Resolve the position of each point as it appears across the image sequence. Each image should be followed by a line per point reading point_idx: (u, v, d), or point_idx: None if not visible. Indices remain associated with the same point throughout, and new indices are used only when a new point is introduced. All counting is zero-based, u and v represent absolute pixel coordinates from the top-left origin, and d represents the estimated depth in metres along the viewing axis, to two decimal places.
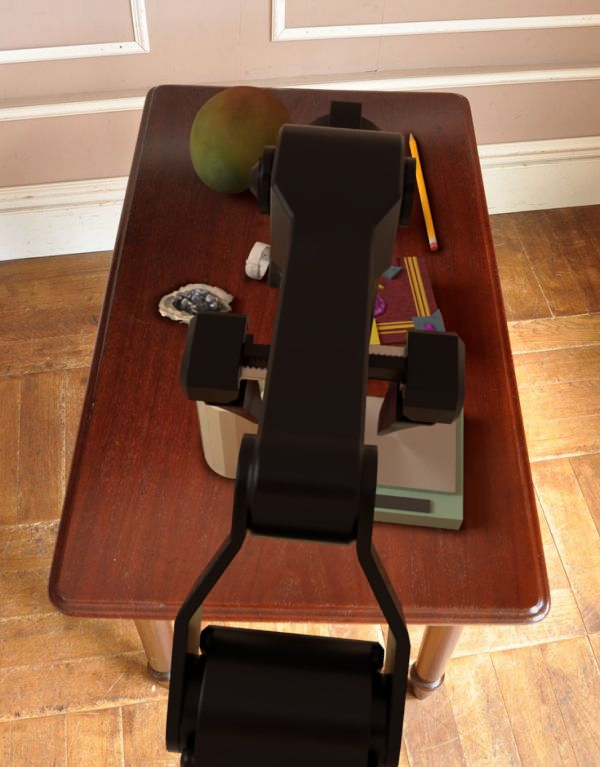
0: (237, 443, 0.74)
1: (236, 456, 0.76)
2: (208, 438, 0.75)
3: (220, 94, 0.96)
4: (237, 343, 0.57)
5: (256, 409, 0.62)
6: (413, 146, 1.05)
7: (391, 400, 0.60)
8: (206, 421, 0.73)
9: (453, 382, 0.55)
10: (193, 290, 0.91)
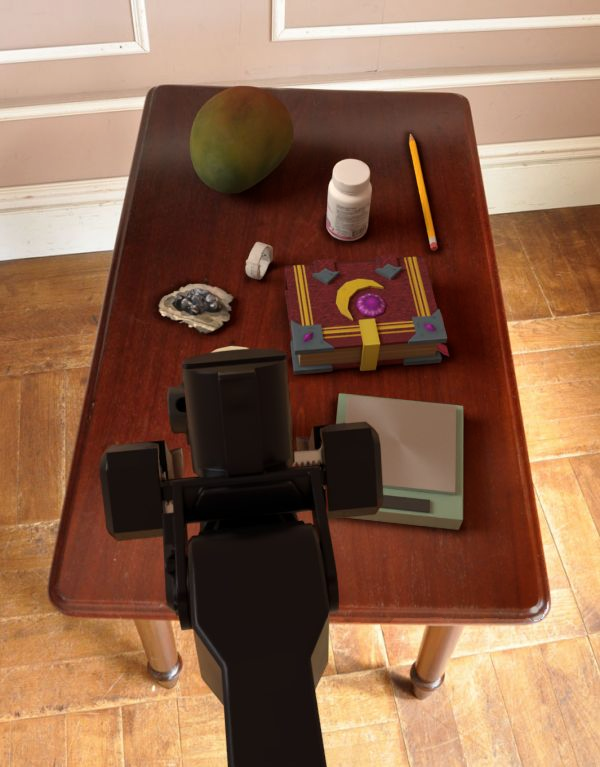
0: None
1: None
2: None
3: (220, 94, 0.96)
4: (156, 497, 0.56)
5: (180, 475, 0.63)
6: (413, 146, 1.05)
7: None
8: None
9: (372, 496, 0.58)
10: (193, 290, 0.91)
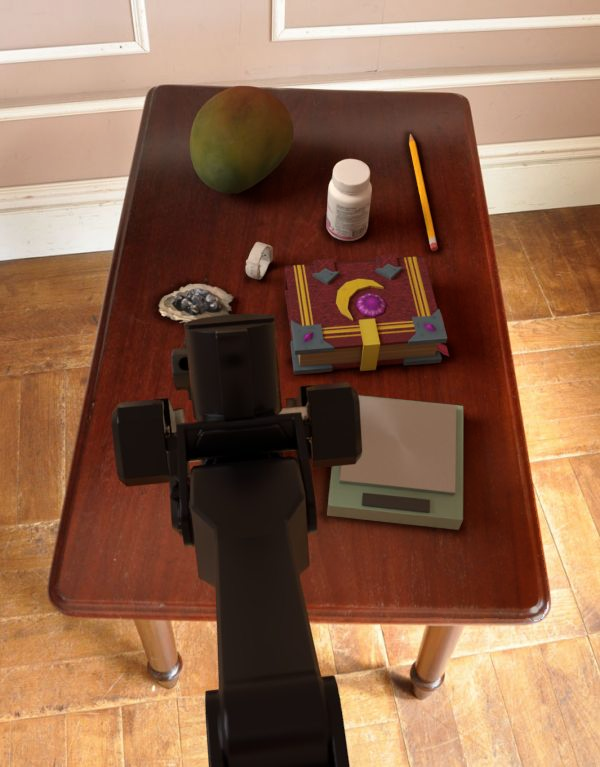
0: None
1: None
2: None
3: (220, 94, 0.96)
4: (161, 447, 0.64)
5: None
6: (413, 146, 1.05)
7: None
8: None
9: (352, 448, 0.65)
10: (193, 290, 0.91)
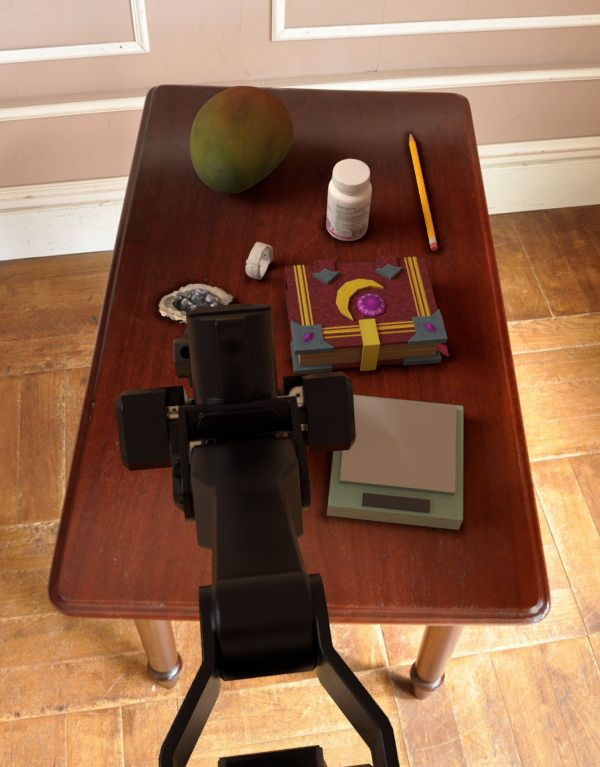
0: None
1: None
2: None
3: (220, 94, 0.96)
4: (163, 432, 0.67)
5: None
6: (413, 146, 1.05)
7: None
8: None
9: (346, 434, 0.68)
10: (193, 290, 0.91)
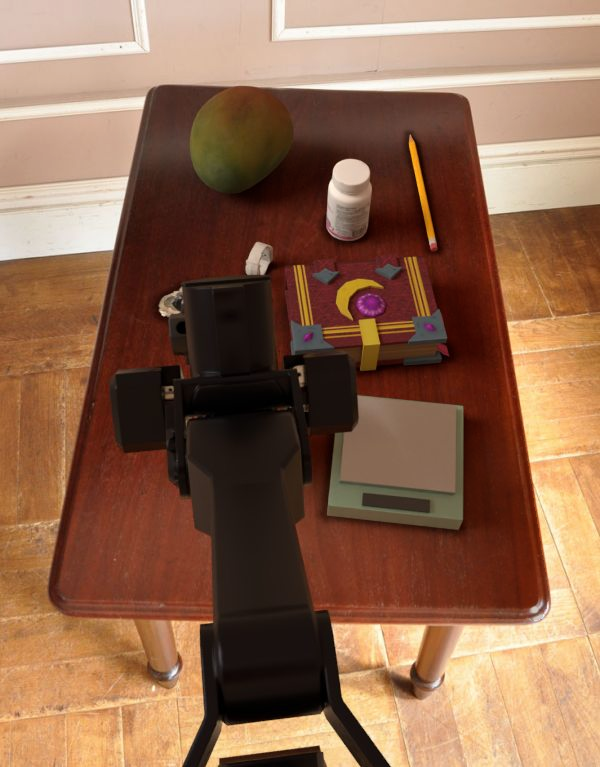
0: None
1: None
2: None
3: (220, 94, 0.96)
4: (159, 413, 0.64)
5: None
6: (412, 147, 1.05)
7: None
8: None
9: (348, 414, 0.66)
10: None
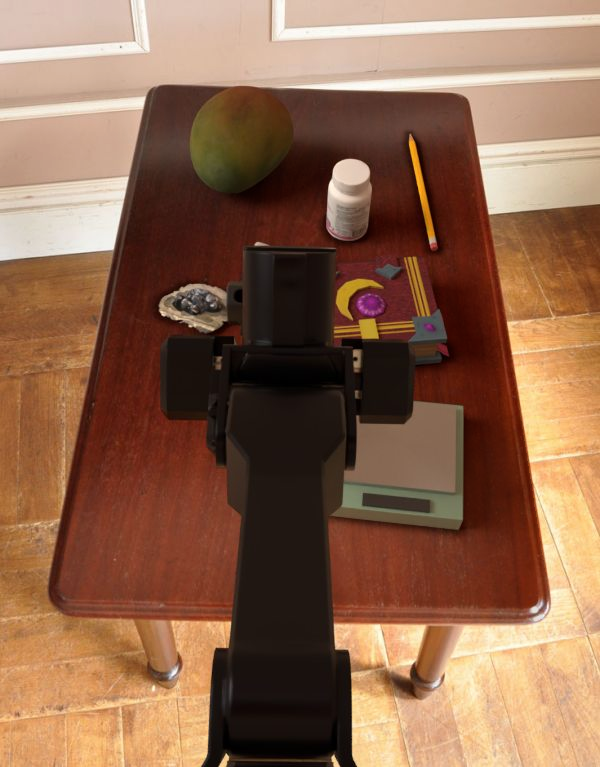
0: None
1: None
2: None
3: (220, 94, 0.96)
4: (207, 382, 0.62)
5: None
6: (413, 146, 1.05)
7: None
8: None
9: (403, 406, 0.63)
10: (193, 290, 0.91)
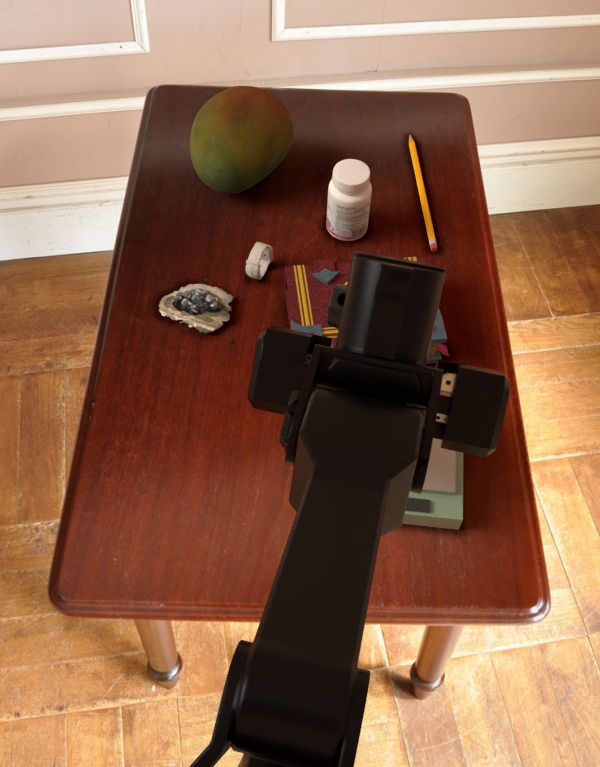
0: None
1: None
2: None
3: (220, 94, 0.96)
4: None
5: None
6: (412, 147, 1.05)
7: None
8: None
9: (487, 438, 0.61)
10: (193, 290, 0.91)
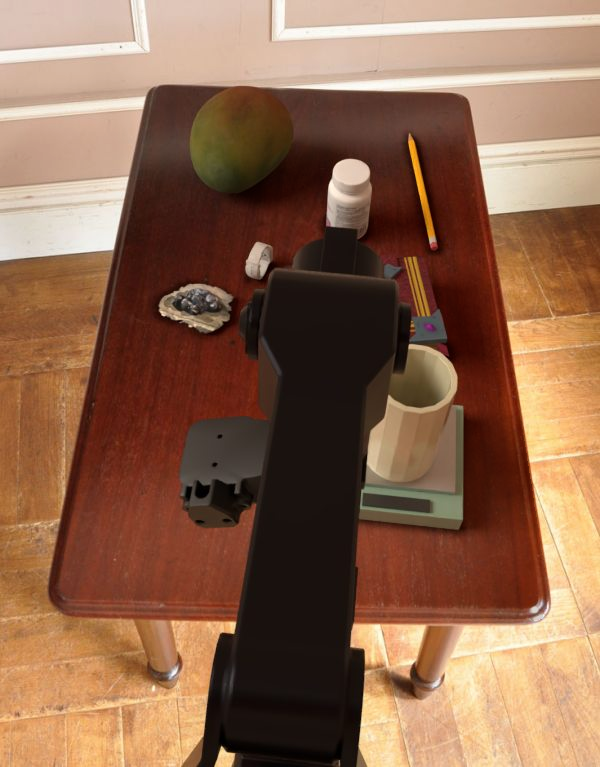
0: (397, 443, 0.71)
1: (391, 456, 0.73)
2: None
3: (220, 94, 0.96)
4: None
5: None
6: (412, 146, 1.05)
7: None
8: None
9: None
10: (193, 290, 0.91)
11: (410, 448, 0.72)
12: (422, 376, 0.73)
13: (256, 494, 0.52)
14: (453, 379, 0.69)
